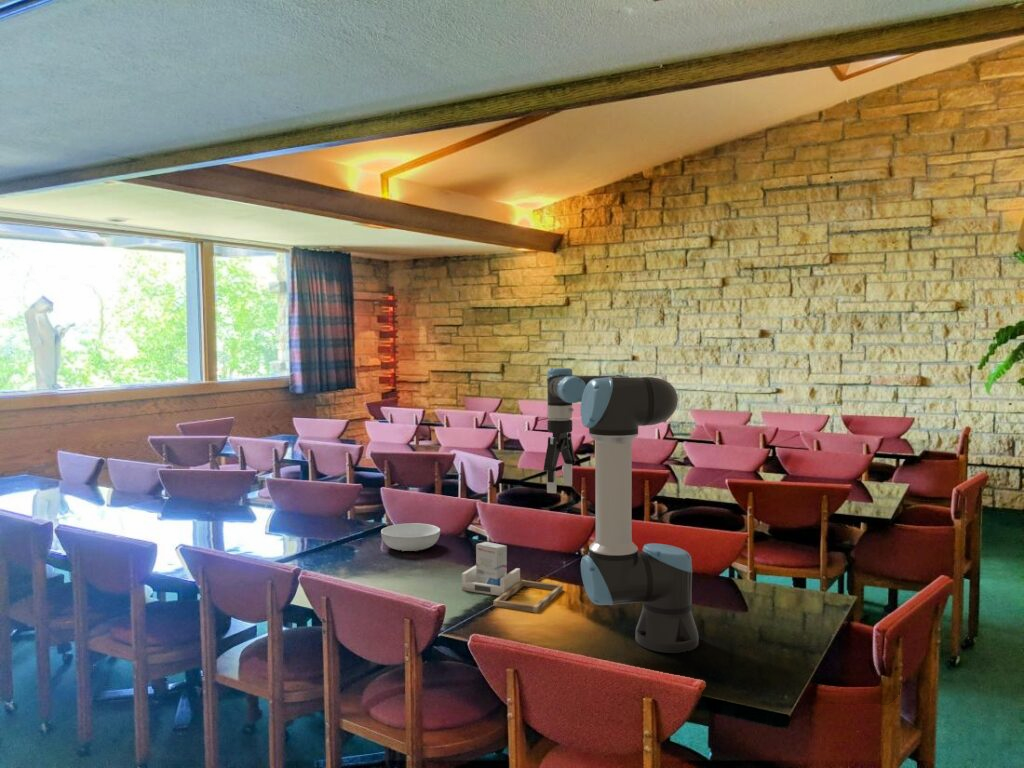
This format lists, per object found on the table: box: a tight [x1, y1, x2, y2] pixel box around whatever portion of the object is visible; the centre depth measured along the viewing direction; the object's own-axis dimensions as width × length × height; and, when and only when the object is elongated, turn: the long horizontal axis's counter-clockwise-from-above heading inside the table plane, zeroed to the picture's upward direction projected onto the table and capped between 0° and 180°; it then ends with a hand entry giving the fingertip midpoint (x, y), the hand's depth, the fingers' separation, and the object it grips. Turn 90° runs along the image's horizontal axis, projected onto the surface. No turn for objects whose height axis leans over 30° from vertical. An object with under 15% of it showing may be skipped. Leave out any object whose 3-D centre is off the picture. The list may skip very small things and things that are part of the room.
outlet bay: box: [461, 564, 521, 597], centre depth 224 cm, size 12×14×5 cm
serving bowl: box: [380, 522, 441, 552], centre depth 267 cm, size 21×21×7 cm
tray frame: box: [492, 579, 564, 614], centre depth 215 cm, size 20×13×2 cm, turn 156°
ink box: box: [475, 541, 508, 586], centre depth 224 cm, size 9×5×12 cm, turn 52°
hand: (559, 488), depth 227 cm, fingers open, 13 cm apart
